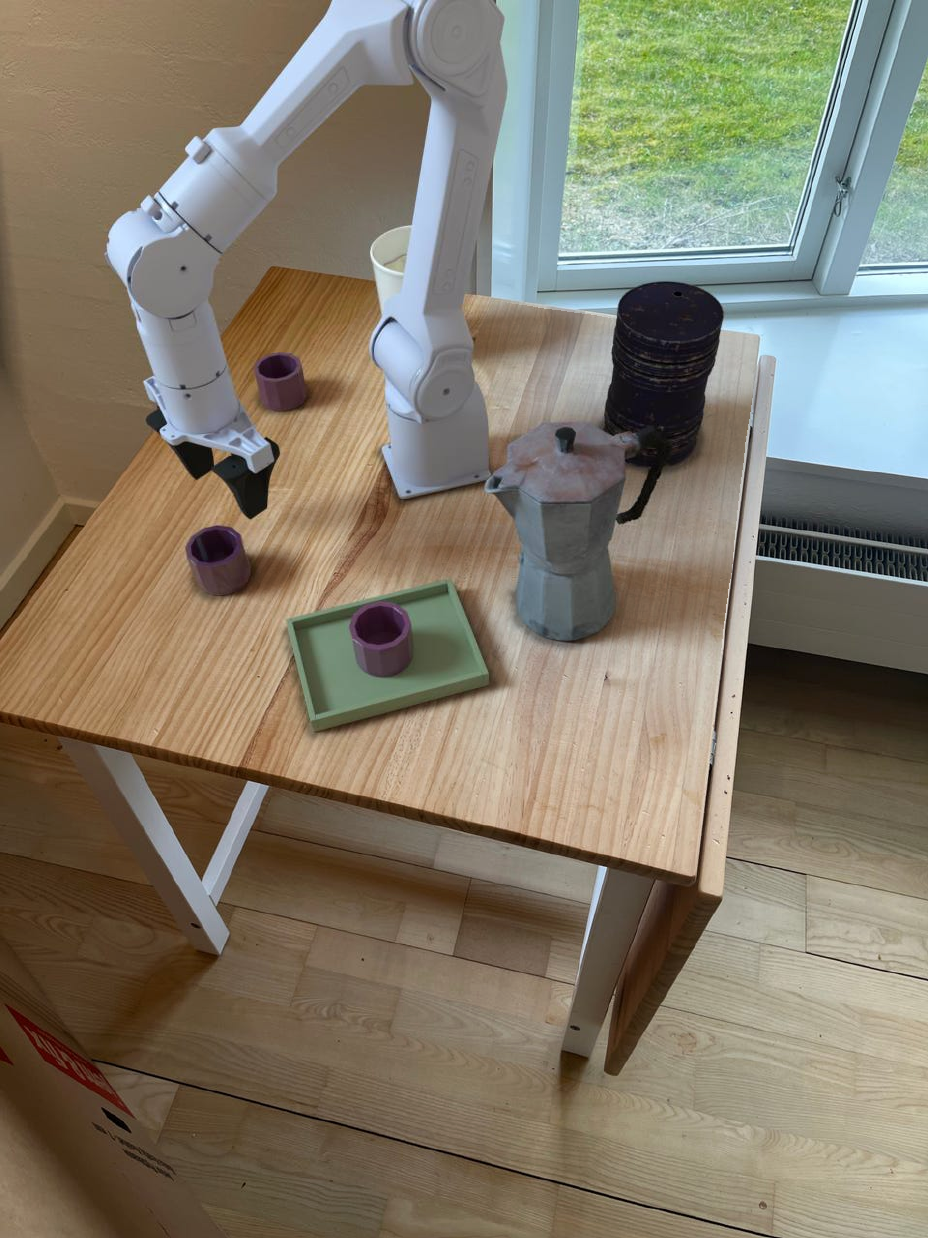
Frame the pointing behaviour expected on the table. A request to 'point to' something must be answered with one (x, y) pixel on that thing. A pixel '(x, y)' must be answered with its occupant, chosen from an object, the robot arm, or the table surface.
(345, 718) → the tray
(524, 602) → the moka pot
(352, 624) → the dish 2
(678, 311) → the storage jar
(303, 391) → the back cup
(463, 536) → the table surface
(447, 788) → the table surface
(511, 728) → the table surface
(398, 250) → the white paper cup
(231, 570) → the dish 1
